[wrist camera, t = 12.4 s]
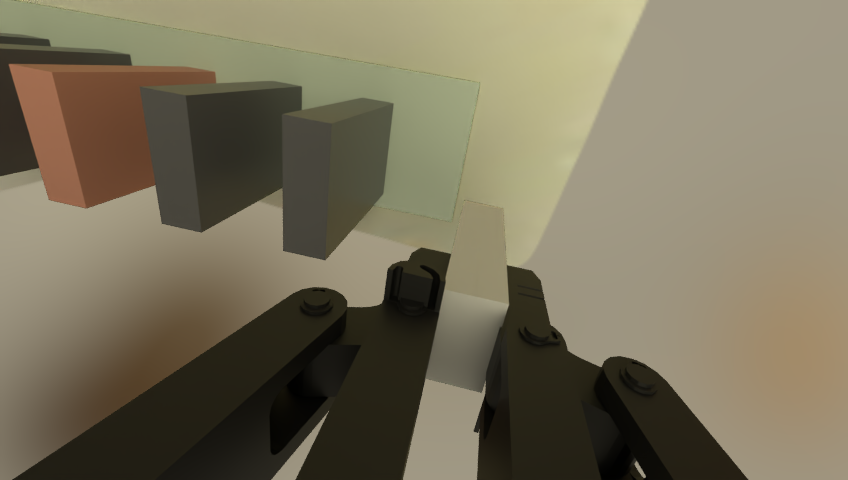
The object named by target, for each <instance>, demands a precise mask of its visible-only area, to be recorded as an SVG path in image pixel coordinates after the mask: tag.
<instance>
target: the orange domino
mask: <svg viewBox="0 0 848 480" xmlns="http://www.w3.org/2000/svg"><path fill="white" fill-rule="evenodd" d="M9 67H10V71H11V74H12V77H13V81H14V84H15V88H16V91H17V94H18V98H19V101H20V104H21V108H22V111H23V114H24V118H25V121H26V124H27V128H28V131H29V134H30V138H31V141H32V144H33V148H34V151H35V155H36V158H37V161H38V165H39V168H40V171H41V175H42V178H43V181H44V185H45V188H46V191H47V195H48V198H49V200H51V201H56V202H60V203H65V204H69V205H73V206H78V207H82V208H89V207H92V206H95V205H98V204H101V203H104V202H107V201H110V200H113V199H116V198H119V197H121V196H125V195H128V194H130V193H133V192H136V191H139V190H142V189H145V188H148V187H151V186H154V185H155V179H154V173H153V166H152V160H151V154H150V148H149V142H148V136H147V130H146V124H145V118H144V112H143V105H142V99H141V93H140V87H142V86H165V85H188V84H210V83H216V74H215V72H214V71H208V70H203V69H197V68H192V67H184V66H120V65H56V64H9Z"/></svg>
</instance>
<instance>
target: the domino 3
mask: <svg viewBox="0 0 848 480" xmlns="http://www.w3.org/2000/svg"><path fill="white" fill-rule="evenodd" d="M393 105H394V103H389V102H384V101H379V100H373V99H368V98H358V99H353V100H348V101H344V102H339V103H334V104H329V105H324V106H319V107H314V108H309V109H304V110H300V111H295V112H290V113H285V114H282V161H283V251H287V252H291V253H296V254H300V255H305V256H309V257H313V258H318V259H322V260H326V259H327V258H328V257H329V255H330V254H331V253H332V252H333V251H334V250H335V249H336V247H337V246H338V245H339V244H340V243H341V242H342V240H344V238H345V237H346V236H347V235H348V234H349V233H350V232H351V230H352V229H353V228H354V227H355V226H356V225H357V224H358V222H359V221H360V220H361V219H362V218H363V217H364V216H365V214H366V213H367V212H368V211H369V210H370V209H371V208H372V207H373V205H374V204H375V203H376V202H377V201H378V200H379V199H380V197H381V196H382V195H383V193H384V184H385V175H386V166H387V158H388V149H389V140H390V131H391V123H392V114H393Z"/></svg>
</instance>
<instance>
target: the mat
mask: <svg viewBox="0 0 848 480" xmlns="http://www.w3.org/2000/svg"><path fill="white" fill-rule="evenodd" d="M0 33H9V34H21V35H28V36H33V37H38V38H44V39H49V41H50V45H51V47H69V48H86V49H103V50H109V51H114V52H119V53H125V54H130V56H131V62H132V66H184V67H192V68H197V69H203V70H208V71H214V72H215V74H216V83H233V82H256V81H276V82H281V83H287V84H292V85H298V86H302V110H304V109H309V108H314V107H319V106H324V105H329V104H334V103H339V102H344V101H348V100H353V99H358V98H368V99H373V100H379V101H384V102H389V103H394V105H393V114H392V123H391V131H390V140H389V149H388V158H387V166H386V175H385V184H384V193H383V195H382V196H381V197H380V199H379V200H378V201H377V202H376V203H375V204H374V205H373V206H376V207H381V208H386V209H391V210H395V211H400V212H405V213H410V214H415V215H419V216H424V217H429V218H434V219H438V220H443V221H448V222H452V218H453V213H454V208H455V203H456V199H457V194H458V189H459V184H460V179H461V174H462V169H463V165H464V160H465V155H466V150H467V145H468V140H469V135H470V130H471V126H472V121H473V116H474V111H475V106H476V101H477V96H478V91H479V87H480V83H479V82H473V81H468V80H462V79H456V78H451V77H445V76H439V75H434V74H428V73H422V72H417V71H411V70H405V69H400V68H394V67H388V66H383V65H377V64H372V63H366V62H360V61H355V60H349V59H343V58H338V57H332V56H326V55H321V54H315V53H309V52H304V51H298V50H292V49H287V48H281V47H276V46H270V45H264V44H259V43H253V42H247V41H242V40H236V39H230V38H225V37H219V36H213V35H208V34H202V33H196V32H191V31H185V30H180V29H174V28H168V27H163V26H157V25H151V24H146V23H140V22H134V21H129V20H123V19H117V18H112V17H106V16H100V15H95V14H89V13H84V12H78V11H72V10H67V9H61V8H55V7H50V6H44V5H38V4H33V3H27V2H21V1H16V0H0Z"/></svg>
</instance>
